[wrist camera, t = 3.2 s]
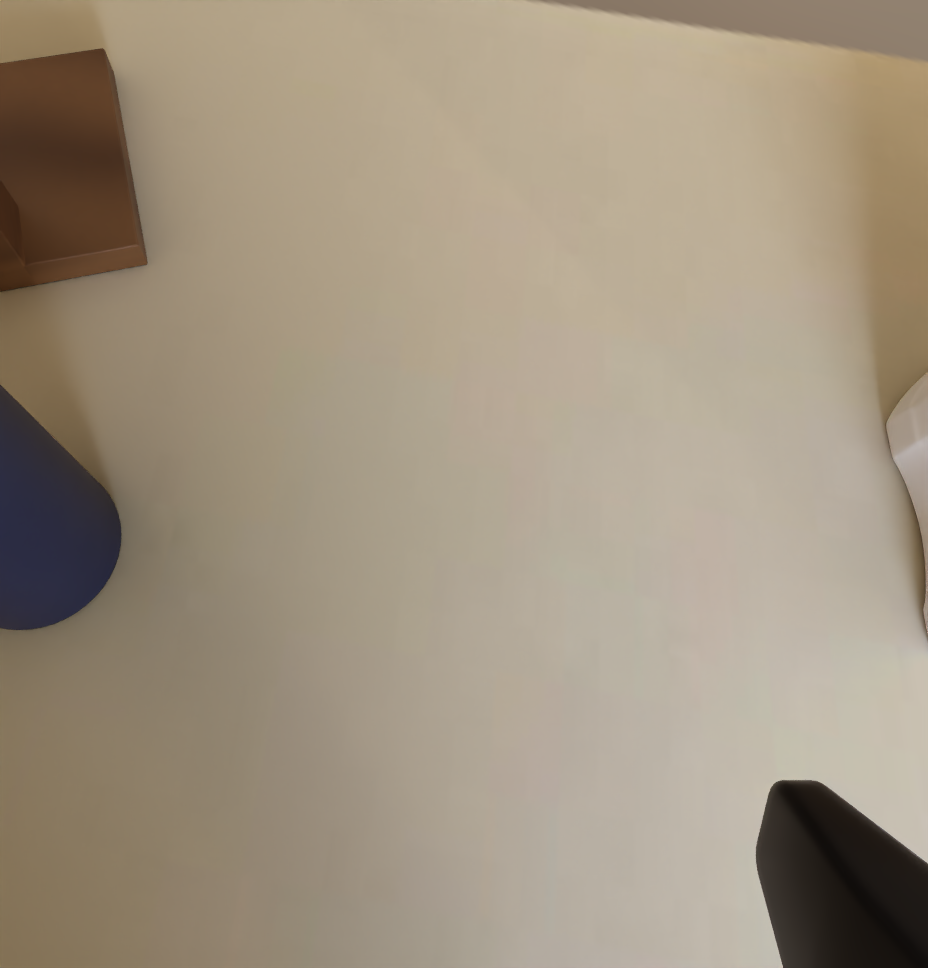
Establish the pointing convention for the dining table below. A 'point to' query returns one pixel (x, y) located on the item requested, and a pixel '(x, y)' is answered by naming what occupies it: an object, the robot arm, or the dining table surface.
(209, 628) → the dining table surface
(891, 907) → the robot arm
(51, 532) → the blue handled weight
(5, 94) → the hook stand
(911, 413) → the jar
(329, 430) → the dining table surface
